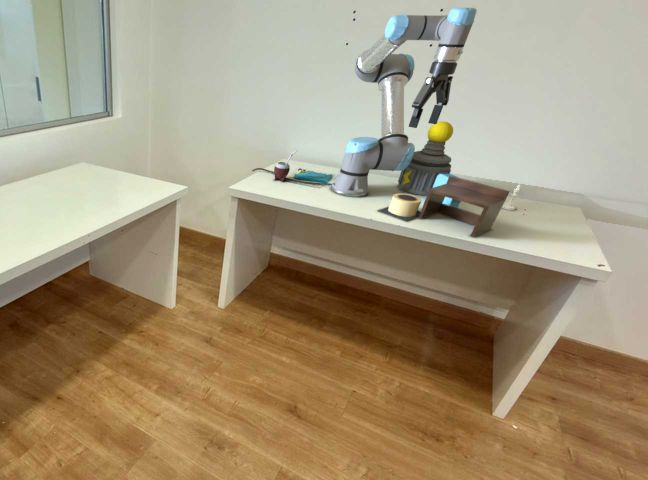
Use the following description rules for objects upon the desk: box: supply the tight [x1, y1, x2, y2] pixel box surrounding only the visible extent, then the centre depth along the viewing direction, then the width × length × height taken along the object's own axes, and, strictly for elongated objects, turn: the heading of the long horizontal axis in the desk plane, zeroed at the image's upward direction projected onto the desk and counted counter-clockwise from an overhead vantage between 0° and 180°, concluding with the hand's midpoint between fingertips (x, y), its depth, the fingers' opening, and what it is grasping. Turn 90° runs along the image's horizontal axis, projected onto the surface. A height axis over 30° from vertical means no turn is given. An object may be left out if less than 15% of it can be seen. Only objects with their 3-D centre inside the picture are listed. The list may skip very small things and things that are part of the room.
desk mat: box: [377, 206, 421, 222], centre depth 165 cm, size 12×14×1 cm
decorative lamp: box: [397, 120, 454, 197], centre depth 181 cm, size 19×19×30 cm
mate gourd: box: [273, 149, 299, 183], centre depth 194 cm, size 8×8×15 cm
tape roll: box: [388, 193, 422, 217], centre depth 163 cm, size 10×10×6 cm
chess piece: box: [501, 184, 521, 211], centre depth 168 cm, size 5×5×10 cm
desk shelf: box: [417, 175, 511, 238], centre depth 152 cm, size 20×13×15 cm, turn 32°
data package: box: [433, 173, 462, 208], centre depth 169 cm, size 12×4×12 cm, turn 6°
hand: (422, 125), depth 152 cm, fingers open, 13 cm apart
